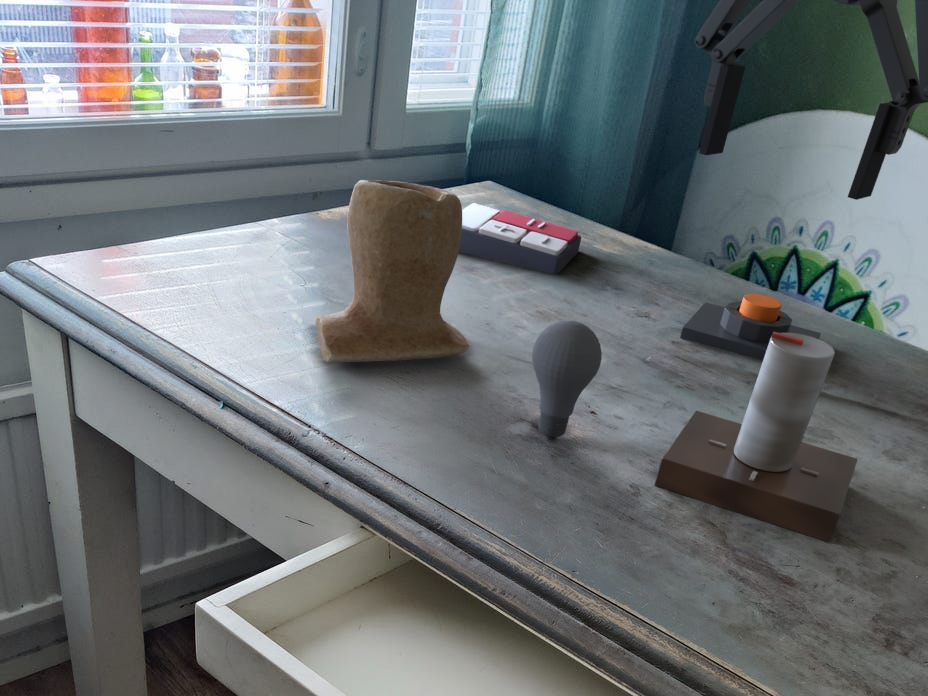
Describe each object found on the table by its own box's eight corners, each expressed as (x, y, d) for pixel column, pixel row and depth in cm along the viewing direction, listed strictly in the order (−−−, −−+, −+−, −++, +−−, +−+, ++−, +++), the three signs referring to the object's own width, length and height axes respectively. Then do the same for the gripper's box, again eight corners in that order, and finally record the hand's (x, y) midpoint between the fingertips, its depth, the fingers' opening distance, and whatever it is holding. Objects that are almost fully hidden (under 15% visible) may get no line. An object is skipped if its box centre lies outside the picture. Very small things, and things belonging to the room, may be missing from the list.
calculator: (562, 251, 114) (441, 216, 116) (553, 288, 116) (435, 253, 119) (584, 229, 122) (471, 197, 124) (575, 264, 125) (465, 232, 127)
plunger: (779, 316, 105) (784, 300, 104) (772, 327, 102) (778, 310, 101) (742, 307, 106) (747, 290, 105) (734, 317, 103) (739, 300, 102)
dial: (797, 455, 81) (840, 340, 75) (787, 478, 77) (831, 359, 71) (740, 438, 82) (778, 323, 76) (727, 460, 79) (766, 341, 73)
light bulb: (535, 416, 87) (557, 304, 80) (592, 437, 85) (619, 323, 79) (506, 437, 83) (526, 321, 77) (565, 460, 81) (591, 342, 75)
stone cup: (431, 322, 101) (448, 165, 92) (480, 370, 93) (504, 203, 84) (288, 328, 96) (291, 162, 86) (327, 380, 87) (335, 202, 78)
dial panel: (846, 484, 83) (858, 456, 82) (828, 542, 75) (841, 512, 74) (688, 435, 87) (696, 408, 86) (654, 485, 79) (662, 456, 78)
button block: (814, 352, 108) (827, 316, 106) (799, 381, 101) (812, 344, 98) (699, 321, 112) (709, 285, 109) (677, 347, 104) (687, 310, 102)
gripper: (699, -182, 71) (631, 139, 84) (1053, -147, 59) (909, 223, 72) (750, -170, 76) (678, 134, 89) (1088, -134, 63) (947, 211, 76)
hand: (781, 174), depth 80 cm, fingers open, 13 cm apart
